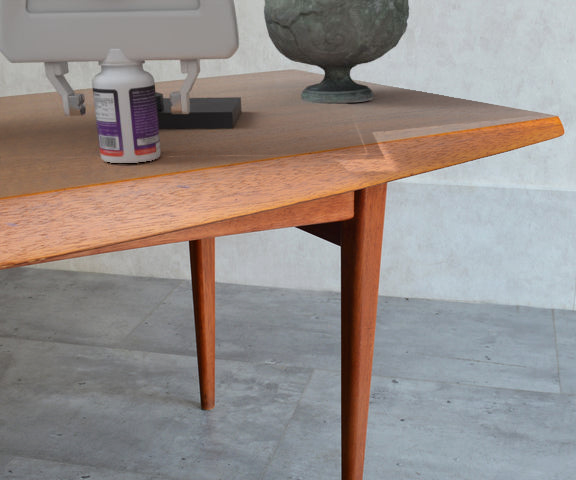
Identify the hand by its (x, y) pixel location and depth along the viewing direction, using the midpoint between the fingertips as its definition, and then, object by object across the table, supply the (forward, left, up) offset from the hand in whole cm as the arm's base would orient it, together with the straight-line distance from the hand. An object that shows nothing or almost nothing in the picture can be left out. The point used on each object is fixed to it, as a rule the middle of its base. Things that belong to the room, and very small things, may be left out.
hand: (128, 114), depth 65 cm
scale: (+1, +21, -4) cm, 21 cm away
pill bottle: (0, 0, -4) cm, 4 cm away
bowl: (+20, +39, -4) cm, 44 cm away
